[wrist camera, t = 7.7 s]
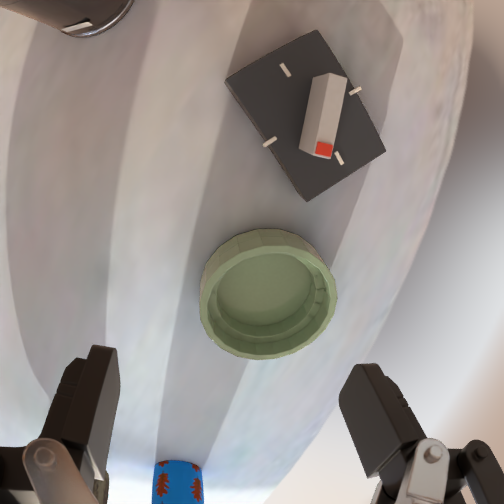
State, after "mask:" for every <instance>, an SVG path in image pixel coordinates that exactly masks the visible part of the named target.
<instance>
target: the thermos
mask: <svg viewBox="0 0 504 504" xmlns="http://www.w3.org/2000/svg"><path fill="white" fill-rule="evenodd" d="M152 504H204V494H203V481H202V472H201V468H199V467H198V466H197V465H194V464H192V463H189V462H184V461H175V460H171V461H163V462H159V463H157V464H156V465H155V468H154V476H153V486H152Z"/></svg>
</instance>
